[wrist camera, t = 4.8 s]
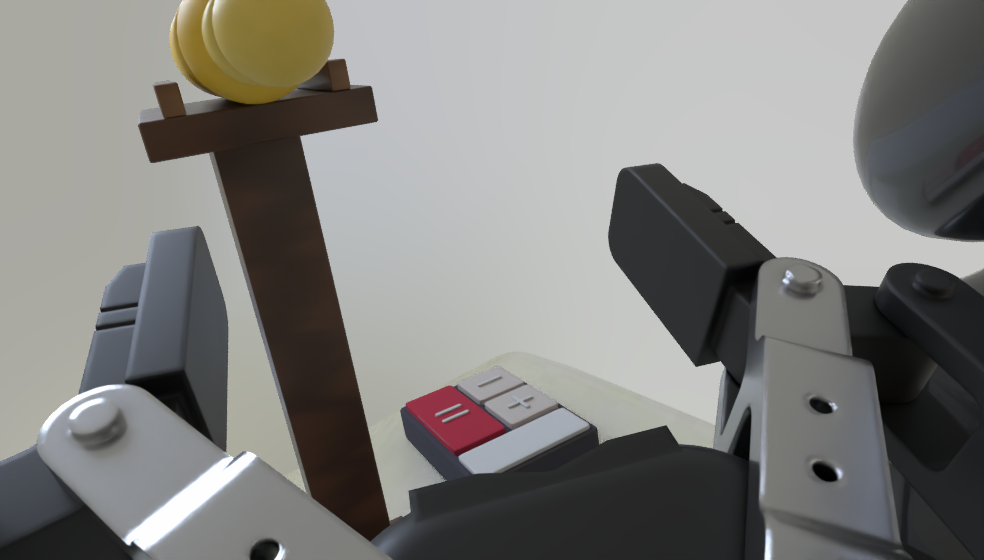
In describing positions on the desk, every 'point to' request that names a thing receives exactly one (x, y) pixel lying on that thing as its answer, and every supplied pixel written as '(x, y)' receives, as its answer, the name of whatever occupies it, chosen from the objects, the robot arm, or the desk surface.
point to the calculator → (495, 427)
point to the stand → (289, 268)
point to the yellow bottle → (251, 46)
